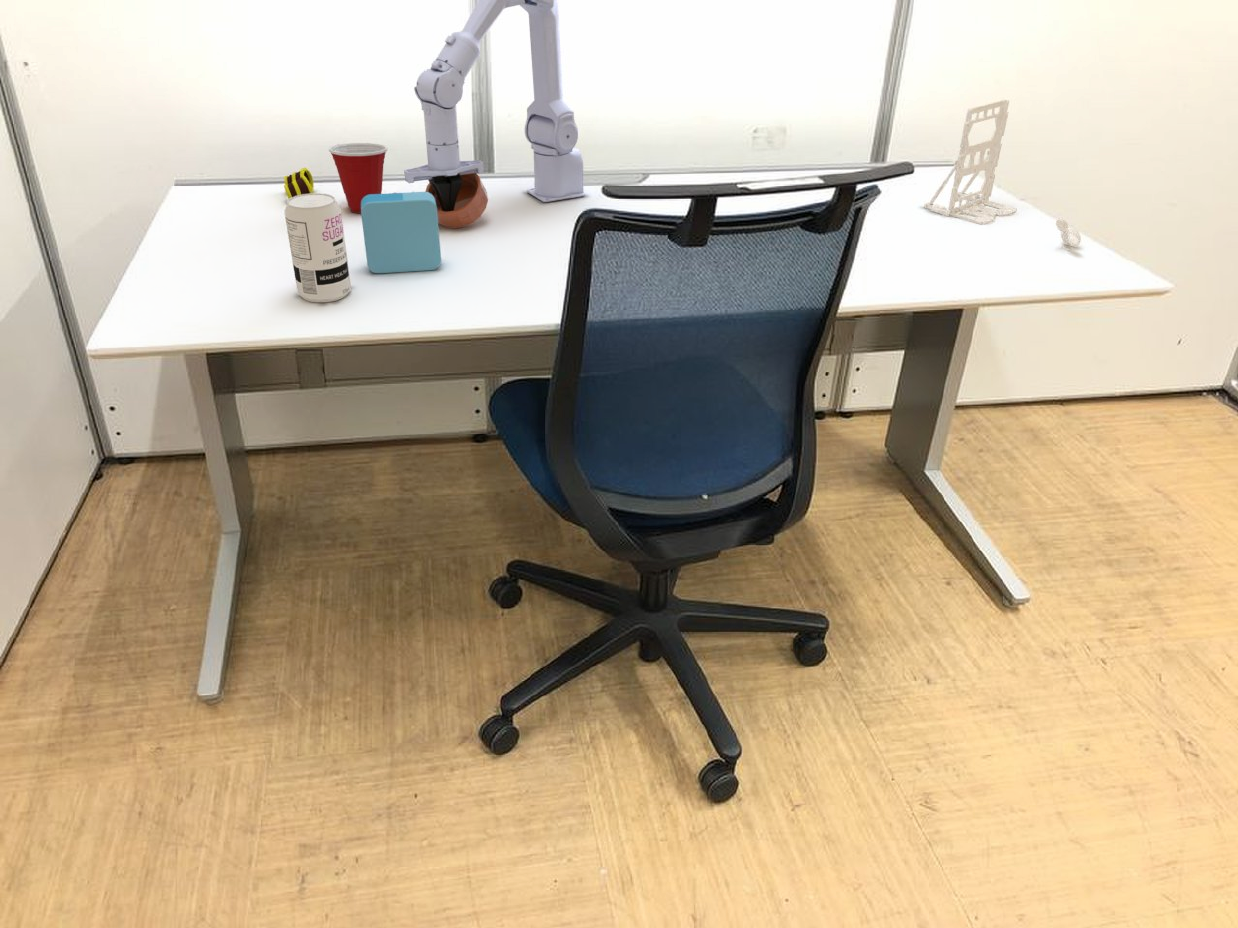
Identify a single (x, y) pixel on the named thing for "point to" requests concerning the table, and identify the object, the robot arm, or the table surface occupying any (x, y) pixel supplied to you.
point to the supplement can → (318, 247)
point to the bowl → (463, 203)
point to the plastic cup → (359, 170)
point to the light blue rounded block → (401, 232)
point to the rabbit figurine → (1068, 234)
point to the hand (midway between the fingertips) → (448, 216)
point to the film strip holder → (977, 171)
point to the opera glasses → (299, 183)
